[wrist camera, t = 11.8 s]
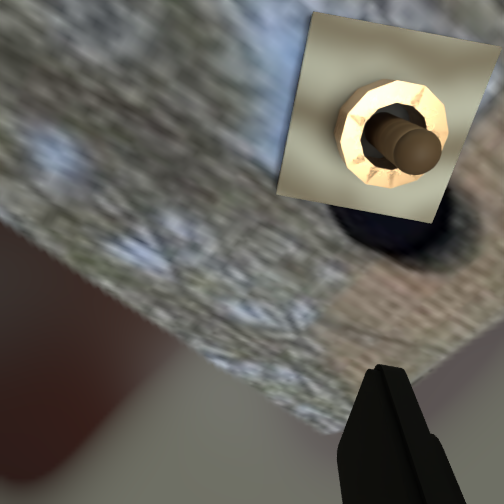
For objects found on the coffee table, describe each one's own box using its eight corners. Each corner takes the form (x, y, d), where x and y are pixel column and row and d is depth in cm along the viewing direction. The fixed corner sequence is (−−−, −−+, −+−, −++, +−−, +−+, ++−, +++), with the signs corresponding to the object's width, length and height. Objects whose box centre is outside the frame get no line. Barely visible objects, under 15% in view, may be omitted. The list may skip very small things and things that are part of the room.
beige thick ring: (349, 72, 29) (358, 73, 25) (441, 89, 29) (464, 93, 25) (325, 165, 32) (330, 177, 28) (409, 180, 32) (425, 195, 28)
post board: (311, 14, 30) (330, -21, 18) (489, 48, 30) (625, 35, 18) (276, 188, 36) (273, 247, 24) (424, 215, 36) (493, 288, 24)
